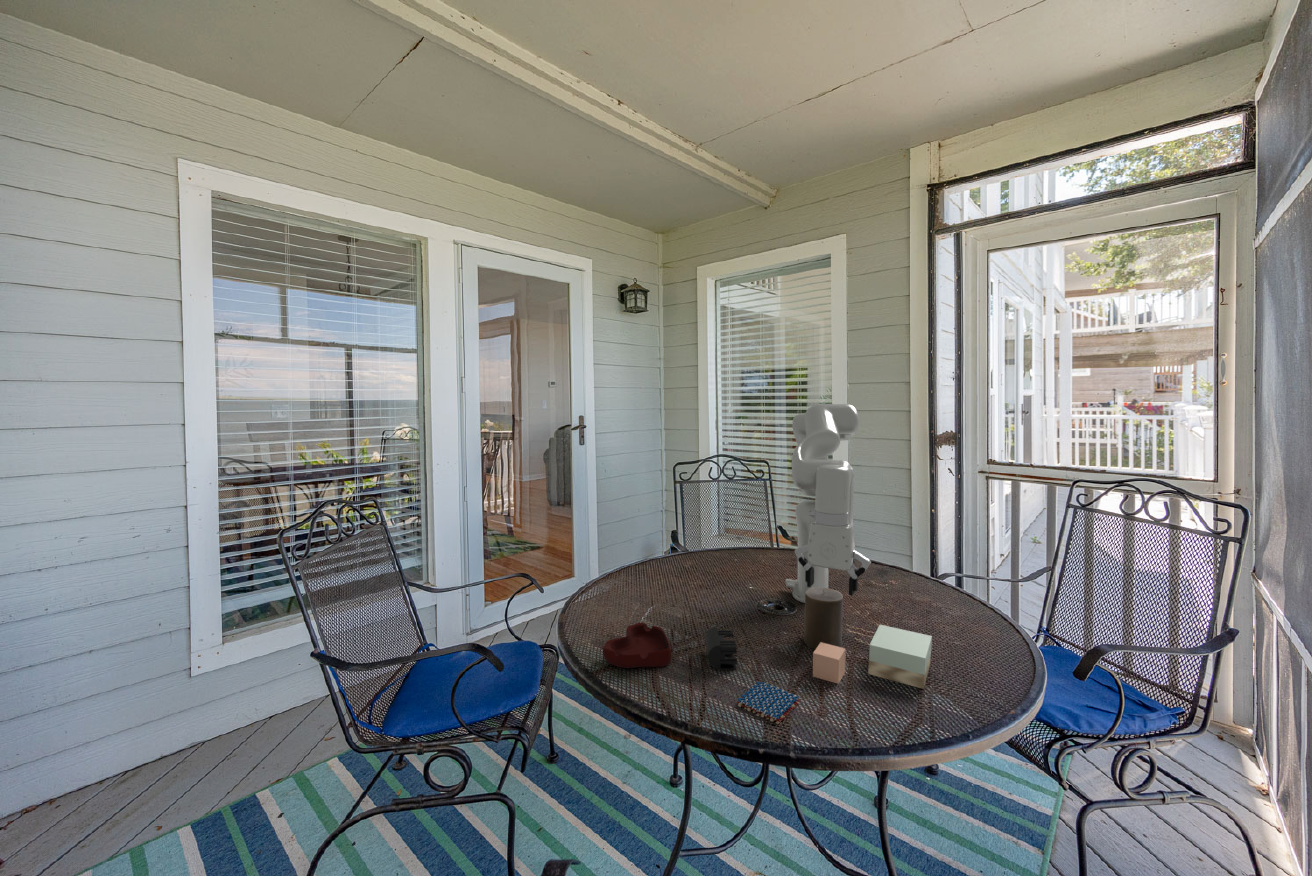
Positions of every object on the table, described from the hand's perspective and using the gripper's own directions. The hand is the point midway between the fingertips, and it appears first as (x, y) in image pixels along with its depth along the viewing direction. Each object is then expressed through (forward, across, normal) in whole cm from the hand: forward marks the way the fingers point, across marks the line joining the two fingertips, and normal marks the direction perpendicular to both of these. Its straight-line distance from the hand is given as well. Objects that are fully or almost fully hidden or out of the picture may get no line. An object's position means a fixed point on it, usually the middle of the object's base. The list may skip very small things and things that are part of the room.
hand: (830, 589), depth 126 cm
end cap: (+22, -25, -7) cm, 34 cm away
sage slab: (+18, +14, +11) cm, 25 cm away
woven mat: (+22, -8, -18) cm, 30 cm away
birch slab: (+22, +14, +12) cm, 28 cm away
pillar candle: (+21, -6, +15) cm, 27 cm away
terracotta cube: (+21, 0, +1) cm, 21 cm away
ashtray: (+22, -43, -16) cm, 51 cm away
